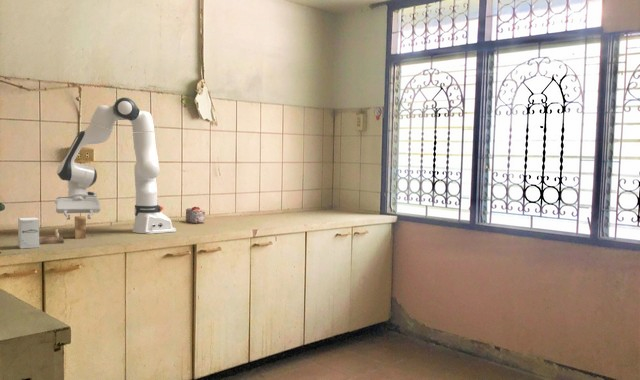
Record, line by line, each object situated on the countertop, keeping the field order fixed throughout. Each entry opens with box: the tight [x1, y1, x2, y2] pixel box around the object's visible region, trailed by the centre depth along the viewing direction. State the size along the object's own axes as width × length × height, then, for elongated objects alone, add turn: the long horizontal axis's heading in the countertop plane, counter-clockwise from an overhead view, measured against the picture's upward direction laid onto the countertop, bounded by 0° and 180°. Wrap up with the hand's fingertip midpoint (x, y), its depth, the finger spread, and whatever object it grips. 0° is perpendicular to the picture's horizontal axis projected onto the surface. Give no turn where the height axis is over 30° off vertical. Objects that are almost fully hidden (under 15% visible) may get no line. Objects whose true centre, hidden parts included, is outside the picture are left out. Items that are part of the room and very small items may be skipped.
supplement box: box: [17, 217, 40, 249], centre depth 232 cm, size 7×7×13 cm
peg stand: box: [39, 228, 65, 245], centre depth 246 cm, size 14×14×5 cm
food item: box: [185, 206, 206, 225], centre depth 320 cm, size 14×8×10 cm, turn 45°
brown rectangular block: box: [74, 215, 87, 240], centre depth 259 cm, size 4×7×10 cm, turn 29°
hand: (78, 218), depth 262 cm, fingers open, 8 cm apart
